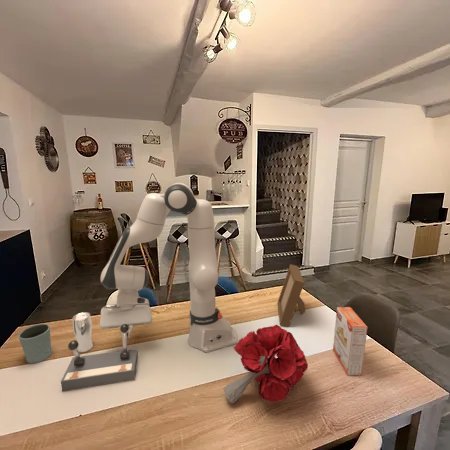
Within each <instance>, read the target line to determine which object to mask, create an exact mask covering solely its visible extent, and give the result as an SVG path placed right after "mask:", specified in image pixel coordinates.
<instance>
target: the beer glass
mask: <svg viewBox="0 0 450 450" xmlns="http://www.w3.org/2000/svg"><path fill="white" fill-rule="evenodd" d="M92 327H93V323H92V317H91V313H90V312H86V311H83V312H79V313H76V314H75V315H73V317H72V329H73V333H74V336H75V339H76V341H77V342H78V343H79V345H78V351H79V353H85V352H88V351H90V350H91V349H92V348H93V347H94V344H93V340H92V329H93V328H92Z"/></svg>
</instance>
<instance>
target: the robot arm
mask: <svg viewBox="0 0 450 450" xmlns="http://www.w3.org/2000/svg"><path fill="white" fill-rule="evenodd" d="M171 211H172V212H174V213H177V214H178V213H179V214H181V215H186V221H187V239H188V240H187V241H188V243H187V244H188V251H189V253H188V254H189V261H188V279H189V280H188V281H189V282H188V283H189V296H190V298H189V299H190V303H189V304H190V309H189V325H190V326H189V333H188V337H187V342H188V344H189V345H190V346H191V347H192V348H195V349H198V350H200V351H202V352H203V353H209V352H210V353H211V352H213V351H217V350H220V349H223V348H226V347H230V346H234V345H236V344H237V343H238V335H237V332H236V330H235V329H234V327H232V324H231V323H230V321H229V320H228V318H227V317H224V316H223V315H222V313H221V311H220V309H219V308H218V307H217V306H216V289H215V287H216V286H217V285H218V281H219V272H218V259H217V251H216V241H215V238H216V237H215V233H216V232H215V215H214V210H213V206H212V203H211V202H210V201H208V200H207V199H202V198H201V199H200V198H199V199H198V198H196V197H195V195H194V193H193V189H192V188H191V187H190V185H188V184H186V183H184V182H175V183H173V184H171V185H170V186H169V187H168V188H167V189H165V192H164V193H158V192H151V193H148V194H146V195H145V197H144V198H143V200H142V202H141V204H140V207H139V209H138V212H137V216H136V219H135V221H134V222H133V223H132V225H130V226H129V227H126V228H125V229H123V231H122V233H121V235H120V236H119V238H118V240H117V242H116V245H115V246H114V249H113V250H112V253H111V255H110V257H109V258H108V260H107V262H106V264H105V266H104V267H103V269H102V271H101V272H100V273H101V274H100V284H101V285H102V286H103V288H105V289H106V290H117V291H118V293H117V296H116V304H109V305H104V306H103V307H102V308H101V309H100V320H99V327H100V328H101V329H102V330H107V329H117V328H118V329H119V330H120V327H121V325H123V324H127V325H128V326H129V329H128V331H127V339H128V338H129V339H130V338H131V333H132V332H133V329H134V327H135V326H141V325H150V324H152V322H153V314H152V309H151V307H150V301H149V299H148V298H145V297H141V296H140V294H139V291H141V290H143V289H144V288H146V287H147V286H148V284H149V272H148V270H147V268H145V267H142V266H140V265H139V266H136V265H125V264H121V263H122V262H123V260H124V256H125V255H126V253H127V250H128V249H129V248H131V247H132V246H136V245H139V244H143V243H144V244H145V243H148V242H149V243H150V242H152V241H154V240H156V239H157V238H159V237H160V236H161V234H162V233H163V229H164V228H165V223H166V219H167V216H168V215H169V213H170V212H171ZM120 333H121V334H122V332H121V331H120Z"/></svg>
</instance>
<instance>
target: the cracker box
mask: <svg viewBox="0 0 450 450" xmlns="http://www.w3.org/2000/svg"><path fill="white" fill-rule="evenodd" d="M368 328H369V327H368V326H367V325H366V323H364V322H363V320H362V319H361V318H360V317H359V315H358V314H357V313H356V312H355V311H354V310H353V308H352V307H350V306H337V307H336V314H335V325H334V334H333V335H334V336H333V343H332V345H333V347H332V351H333V353H334V354H335V357H336V359H337V360H338V361H339V364H340V365H341V367H342V369H343V370H344V372H345V374H346V375H347V376H362V375H363V367H364V366H363V365H364V358H365V351H366V343H367V342H366V341H367V335H368Z"/></svg>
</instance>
